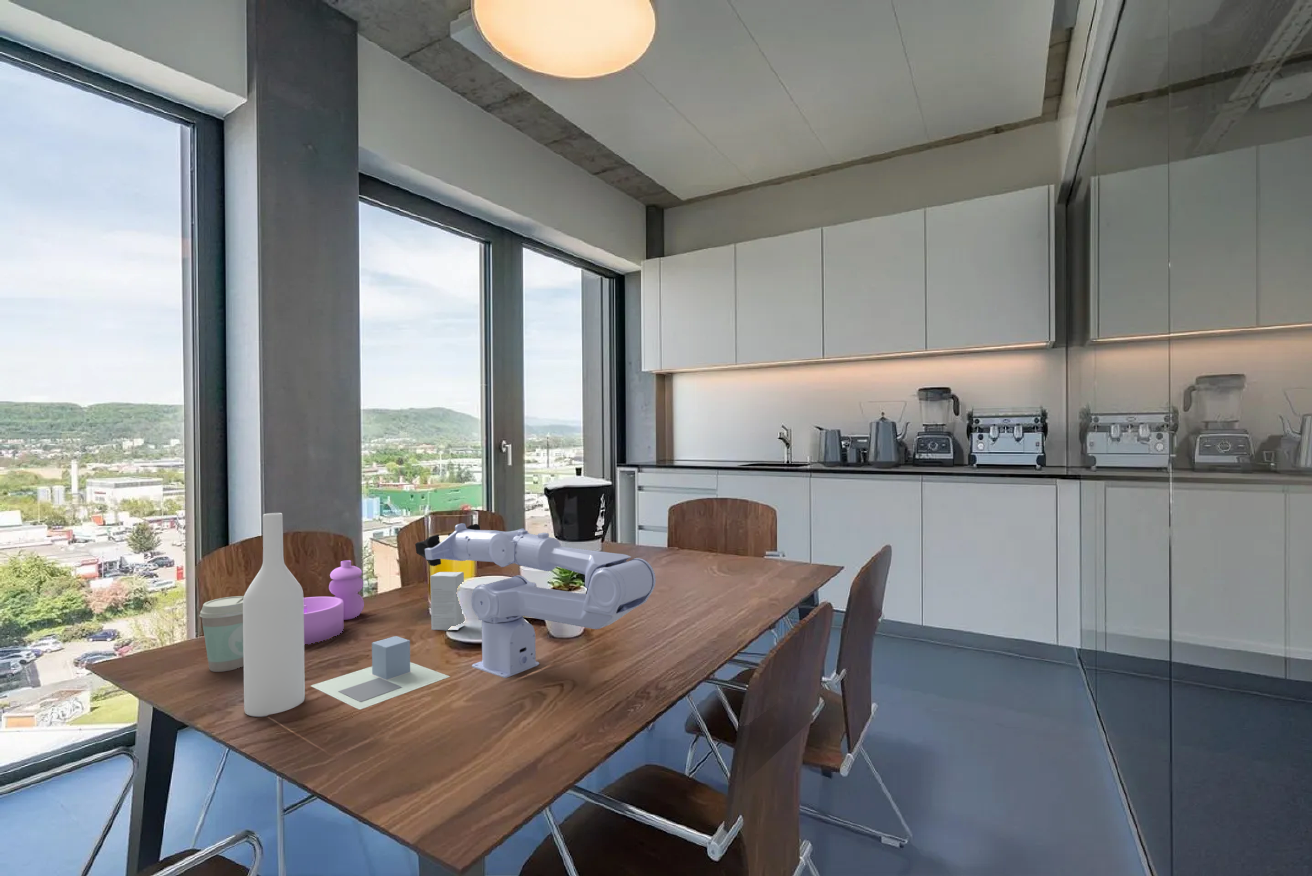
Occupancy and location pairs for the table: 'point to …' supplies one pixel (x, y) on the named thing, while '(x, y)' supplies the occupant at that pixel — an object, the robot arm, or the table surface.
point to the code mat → (376, 685)
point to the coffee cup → (223, 633)
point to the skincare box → (445, 600)
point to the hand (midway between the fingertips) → (434, 543)
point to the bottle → (273, 631)
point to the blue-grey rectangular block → (390, 657)
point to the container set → (334, 605)
